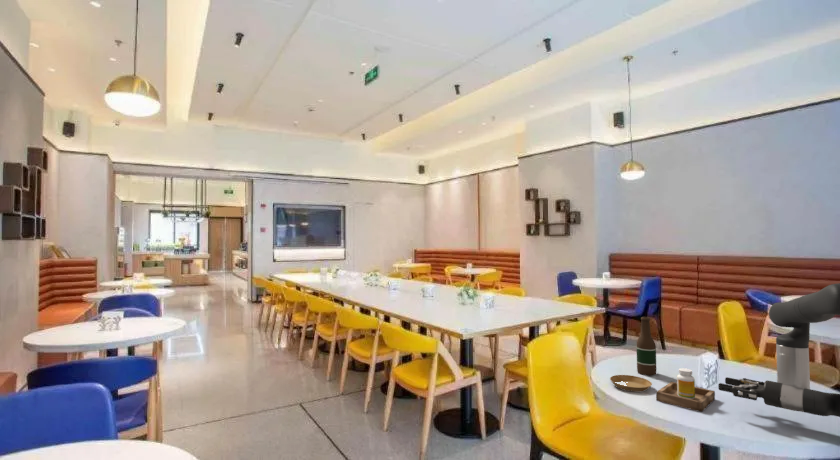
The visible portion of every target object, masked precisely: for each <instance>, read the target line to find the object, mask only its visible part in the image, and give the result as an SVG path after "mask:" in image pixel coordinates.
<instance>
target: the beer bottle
mask: <svg viewBox="0 0 840 460" xmlns="http://www.w3.org/2000/svg"><path fill="white" fill-rule="evenodd" d="M640 320H641V323H640V324H641V325H640V326H641V327H640V335H639V336H638V338H637V340H636V371H637V374H639V373H640V375H643V376H647V377H649V376H650V377H654V376H656V375H657V346H656V342H655V340H654V339H653V337H652V334H651V322H650V321H651V319H650V317H649V316H642V317H640Z"/></svg>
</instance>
